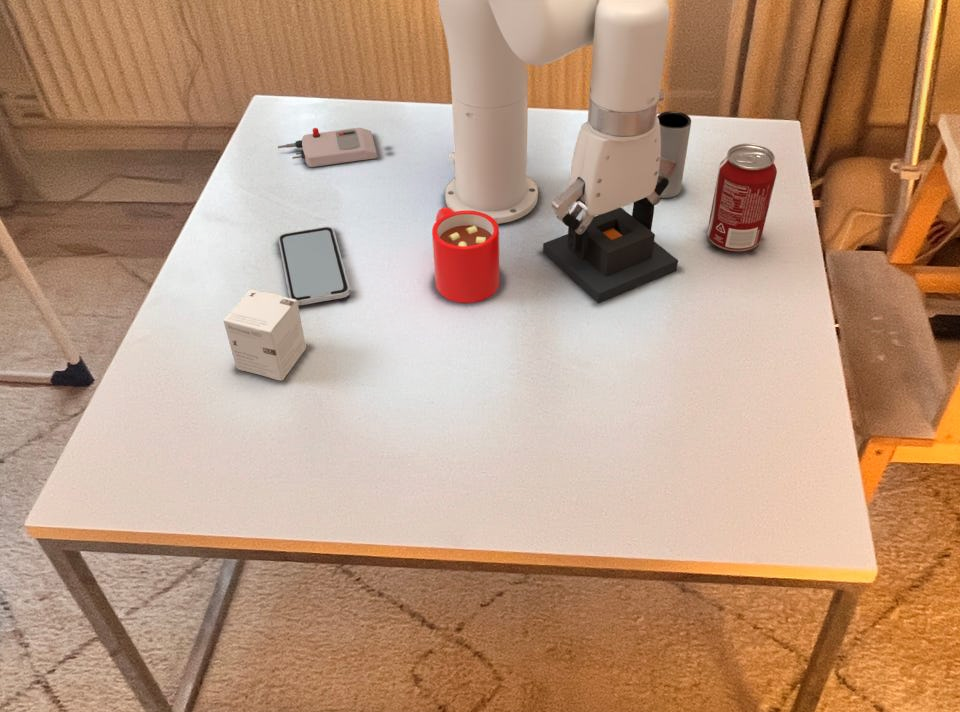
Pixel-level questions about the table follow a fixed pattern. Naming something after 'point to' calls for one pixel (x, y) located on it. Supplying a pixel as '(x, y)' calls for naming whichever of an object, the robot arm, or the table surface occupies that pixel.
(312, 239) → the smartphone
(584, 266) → the base pad
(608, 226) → the black square ring block
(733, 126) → the table surface
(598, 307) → the table surface
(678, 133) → the gray hollow cylinder
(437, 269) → the mug
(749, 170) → the soda can
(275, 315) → the product carton
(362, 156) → the handheld electronic tester
